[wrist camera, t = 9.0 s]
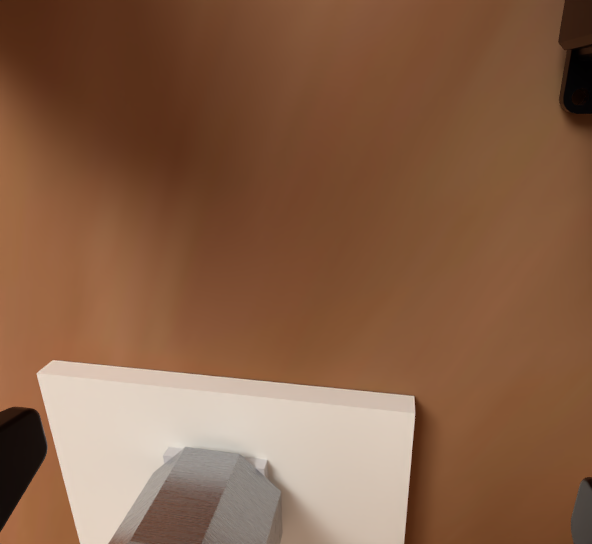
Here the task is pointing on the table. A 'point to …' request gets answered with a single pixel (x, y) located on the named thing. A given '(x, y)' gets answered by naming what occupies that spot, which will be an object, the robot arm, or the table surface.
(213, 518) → the tube
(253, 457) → the shaft stand
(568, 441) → the table surface
